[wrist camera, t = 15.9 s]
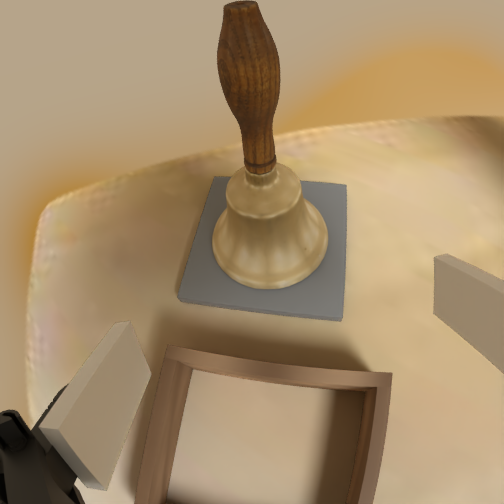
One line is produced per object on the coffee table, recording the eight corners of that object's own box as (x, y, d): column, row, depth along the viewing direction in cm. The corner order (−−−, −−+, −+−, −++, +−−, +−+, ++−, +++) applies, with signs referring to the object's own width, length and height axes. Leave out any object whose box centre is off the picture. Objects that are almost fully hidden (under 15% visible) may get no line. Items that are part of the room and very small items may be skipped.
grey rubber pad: (345, 191, 25) (346, 184, 24) (340, 321, 20) (342, 317, 19) (216, 182, 27) (214, 176, 26) (180, 301, 22) (177, 297, 21)
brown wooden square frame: (378, 379, 17) (392, 372, 15) (343, 555, 11) (350, 574, 9) (184, 355, 20) (167, 344, 17) (150, 521, 14) (130, 533, 11)
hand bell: (238, 183, 25) (194, -9, 12) (339, 206, 23) (359, -8, 9) (193, 270, 22) (80, 60, 8) (308, 306, 19) (328, 50, 6)
